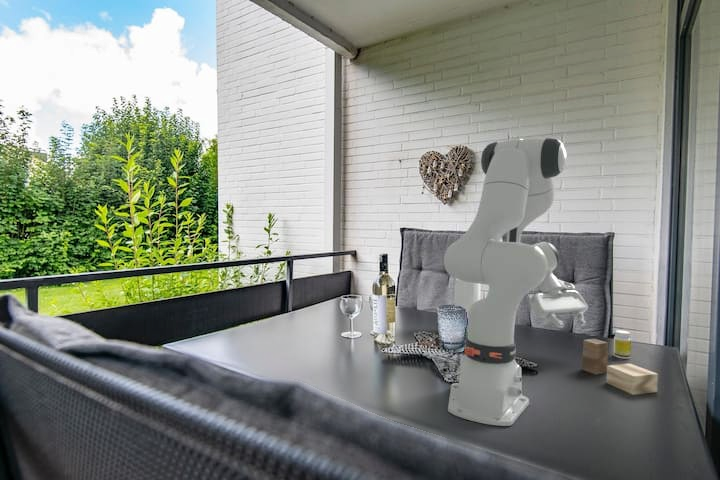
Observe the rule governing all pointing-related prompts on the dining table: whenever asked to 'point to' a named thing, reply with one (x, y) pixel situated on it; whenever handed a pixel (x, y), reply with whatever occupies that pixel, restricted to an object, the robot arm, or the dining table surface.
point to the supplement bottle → (622, 344)
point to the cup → (466, 294)
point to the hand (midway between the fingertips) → (572, 326)
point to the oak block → (632, 378)
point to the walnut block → (595, 356)
